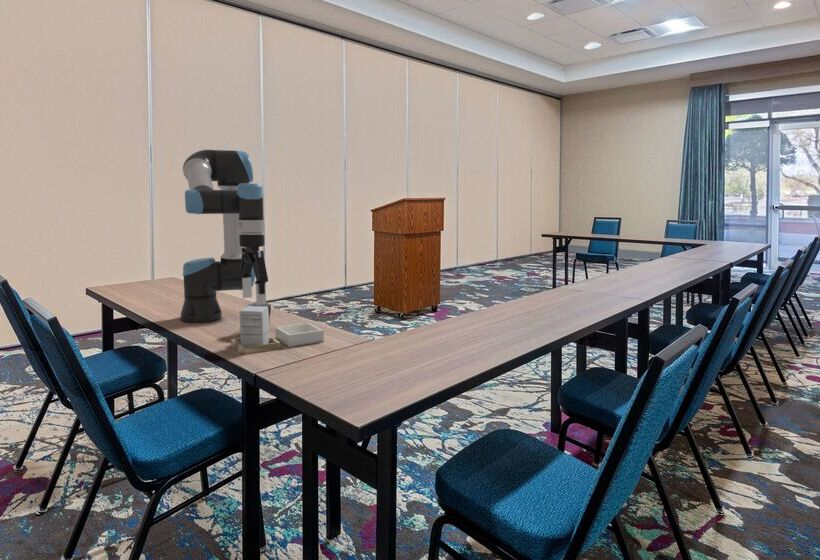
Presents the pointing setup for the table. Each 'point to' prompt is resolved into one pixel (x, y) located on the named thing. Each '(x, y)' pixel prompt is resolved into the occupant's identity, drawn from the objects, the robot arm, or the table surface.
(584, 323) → the table surface
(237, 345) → the corral
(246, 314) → the supplement box
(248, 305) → the coffee mug
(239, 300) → the table surface
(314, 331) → the bin
